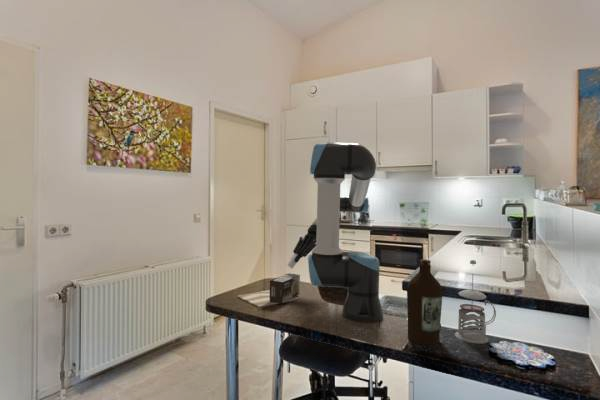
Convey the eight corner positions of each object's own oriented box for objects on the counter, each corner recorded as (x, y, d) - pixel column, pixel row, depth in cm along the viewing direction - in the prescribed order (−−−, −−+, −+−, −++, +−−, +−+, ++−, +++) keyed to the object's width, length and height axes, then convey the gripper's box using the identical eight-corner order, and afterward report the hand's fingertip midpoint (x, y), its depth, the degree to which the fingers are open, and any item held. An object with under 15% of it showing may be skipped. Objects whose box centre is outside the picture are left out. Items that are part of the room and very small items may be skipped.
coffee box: (287, 273, 157) (269, 279, 142) (300, 274, 154) (283, 281, 140) (287, 293, 157) (268, 301, 142) (299, 295, 154) (282, 304, 140)
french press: (453, 329, 117) (455, 256, 117) (491, 334, 114) (493, 259, 114) (456, 340, 108) (457, 261, 108) (497, 346, 104) (499, 264, 104)
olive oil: (399, 334, 112) (401, 257, 112) (427, 331, 115) (428, 257, 115) (418, 347, 102) (420, 263, 102) (449, 344, 105) (450, 262, 105)
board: (298, 299, 149) (298, 298, 149) (259, 307, 136) (259, 306, 136) (275, 290, 163) (275, 289, 163) (237, 297, 150) (237, 295, 150)
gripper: (331, 235, 164) (303, 274, 154) (313, 232, 174) (286, 269, 164) (322, 224, 161) (293, 263, 150) (305, 222, 171) (277, 259, 161)
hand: (289, 266), depth 157 cm, fingers closed
